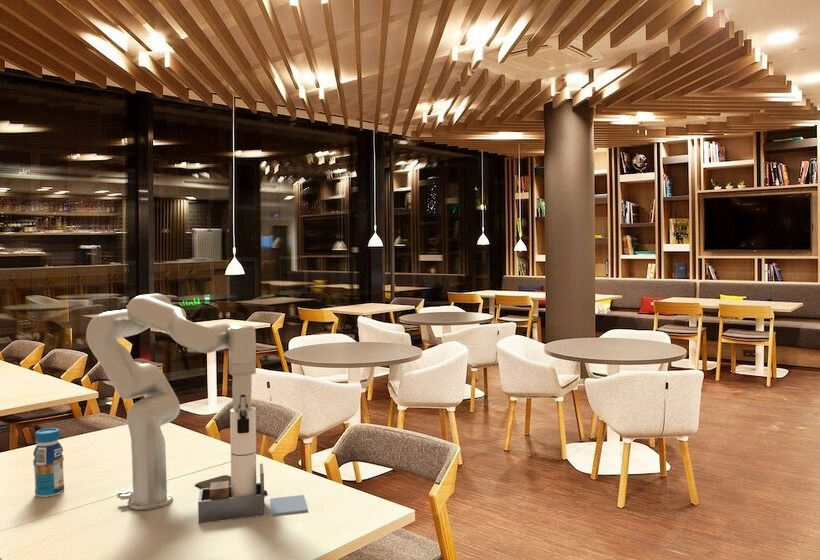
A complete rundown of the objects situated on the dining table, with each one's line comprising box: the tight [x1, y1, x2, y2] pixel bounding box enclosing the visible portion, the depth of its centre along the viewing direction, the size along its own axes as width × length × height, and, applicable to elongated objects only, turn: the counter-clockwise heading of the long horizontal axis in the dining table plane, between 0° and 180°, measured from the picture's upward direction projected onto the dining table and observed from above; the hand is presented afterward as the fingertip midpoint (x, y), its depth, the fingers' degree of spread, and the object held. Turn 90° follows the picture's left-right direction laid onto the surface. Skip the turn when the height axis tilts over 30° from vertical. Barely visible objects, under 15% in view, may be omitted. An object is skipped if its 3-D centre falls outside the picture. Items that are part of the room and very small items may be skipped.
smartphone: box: [194, 474, 268, 496], centre depth 208 cm, size 12×2×25 cm
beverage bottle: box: [32, 427, 65, 498], centre depth 207 cm, size 8×8×20 cm
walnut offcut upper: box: [210, 481, 229, 500], centre depth 188 cm, size 5×6×4 cm
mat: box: [269, 494, 308, 516], centre depth 194 cm, size 10×12×1 cm
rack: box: [197, 463, 266, 524], centre depth 189 cm, size 18×11×12 cm, turn 105°
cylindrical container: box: [229, 406, 257, 497], centre depth 190 cm, size 7×7×25 cm
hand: (243, 428), depth 190 cm, fingers closed on cylindrical container, 7 cm apart
